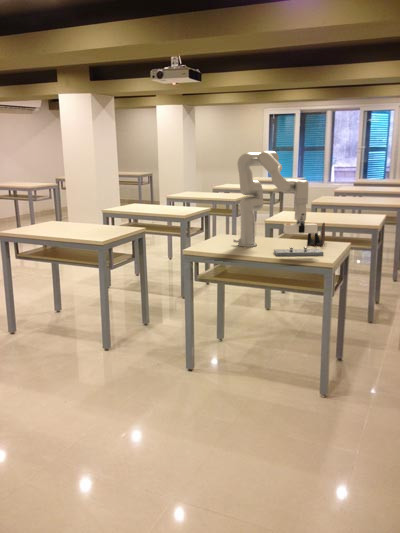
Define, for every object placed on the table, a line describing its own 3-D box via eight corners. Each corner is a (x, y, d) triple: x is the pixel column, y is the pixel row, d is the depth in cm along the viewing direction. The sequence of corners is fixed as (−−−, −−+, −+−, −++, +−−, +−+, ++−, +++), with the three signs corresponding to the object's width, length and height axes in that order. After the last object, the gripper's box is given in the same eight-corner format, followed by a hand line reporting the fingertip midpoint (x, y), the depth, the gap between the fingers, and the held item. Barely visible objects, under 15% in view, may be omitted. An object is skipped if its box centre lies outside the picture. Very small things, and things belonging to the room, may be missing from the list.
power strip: (285, 233, 290) (285, 224, 289) (283, 232, 296) (283, 222, 294) (317, 233, 291) (317, 223, 289) (314, 231, 296) (315, 222, 295)
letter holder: (324, 241, 337) (325, 221, 334) (322, 246, 319) (323, 225, 316) (309, 240, 340) (310, 220, 337) (306, 246, 322) (307, 224, 319)
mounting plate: (276, 256, 291) (277, 249, 290) (273, 252, 301) (274, 245, 300) (323, 255, 292) (323, 248, 291) (318, 252, 302) (319, 245, 301)
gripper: (291, 200, 297) (290, 229, 301) (298, 203, 280) (297, 234, 284) (304, 200, 297) (303, 229, 302) (311, 202, 281) (310, 233, 285)
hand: (300, 231), depth 293 cm, fingers closed on power strip, 6 cm apart
